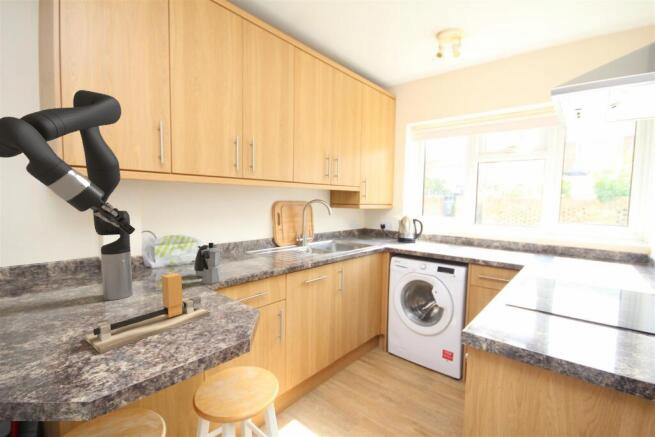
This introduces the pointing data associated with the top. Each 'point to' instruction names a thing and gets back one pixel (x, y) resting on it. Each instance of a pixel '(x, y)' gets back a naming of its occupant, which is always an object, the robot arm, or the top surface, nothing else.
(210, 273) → the coffee maker
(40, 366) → the top surface
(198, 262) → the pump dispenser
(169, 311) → the upright wooden block
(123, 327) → the linear slide rail
